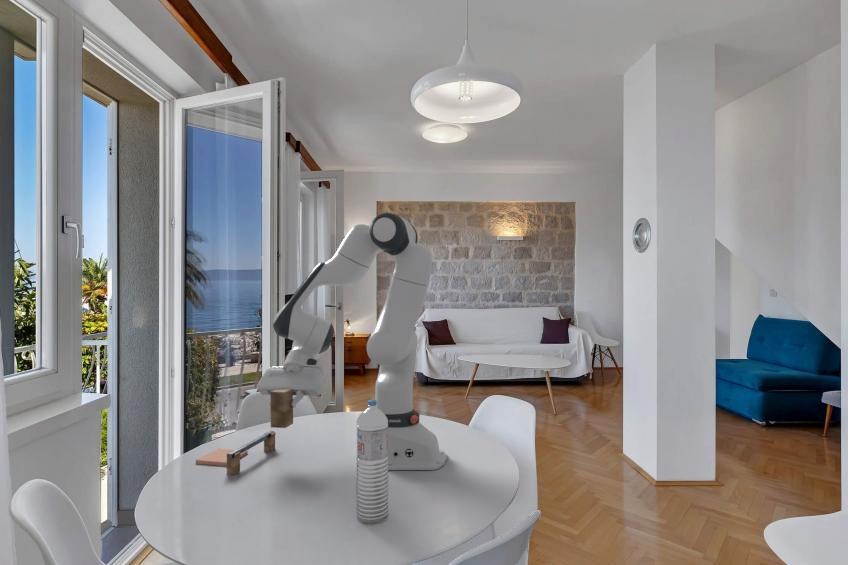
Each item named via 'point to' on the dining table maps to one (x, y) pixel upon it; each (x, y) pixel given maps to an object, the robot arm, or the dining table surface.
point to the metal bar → (250, 444)
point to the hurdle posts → (234, 463)
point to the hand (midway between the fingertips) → (282, 406)
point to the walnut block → (281, 408)
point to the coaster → (217, 457)
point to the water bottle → (372, 465)
